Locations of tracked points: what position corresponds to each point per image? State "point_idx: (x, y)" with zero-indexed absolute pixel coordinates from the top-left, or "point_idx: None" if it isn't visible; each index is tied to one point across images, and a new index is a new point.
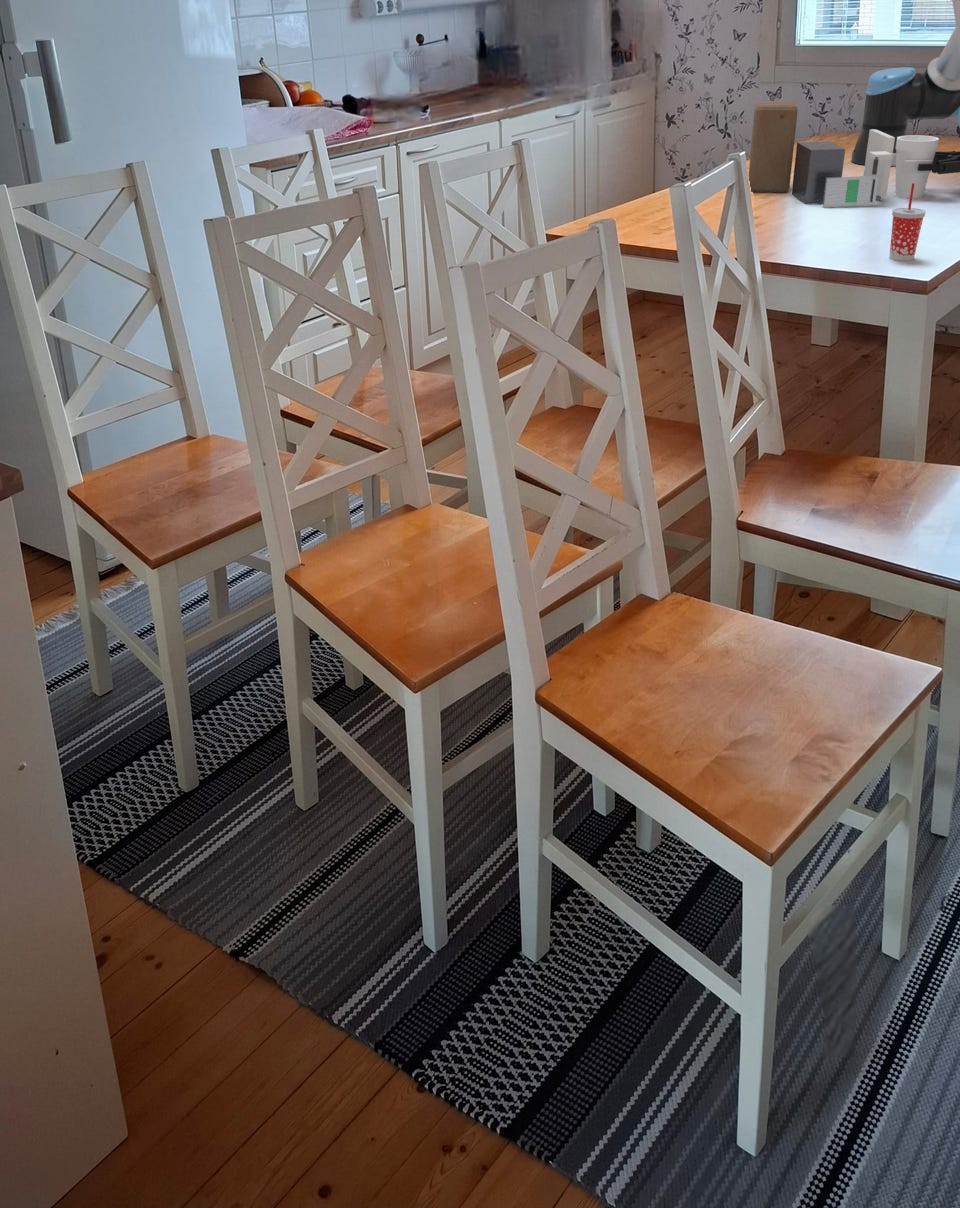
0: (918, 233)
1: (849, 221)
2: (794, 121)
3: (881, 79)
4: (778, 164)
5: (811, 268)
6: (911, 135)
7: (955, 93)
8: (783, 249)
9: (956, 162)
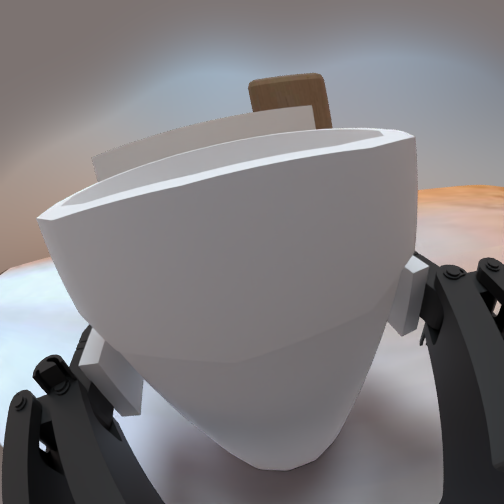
0: None
1: (53, 297)
2: (253, 105)
3: None
4: None
5: None
6: (365, 128)
7: None
8: (21, 269)
9: (4, 502)
